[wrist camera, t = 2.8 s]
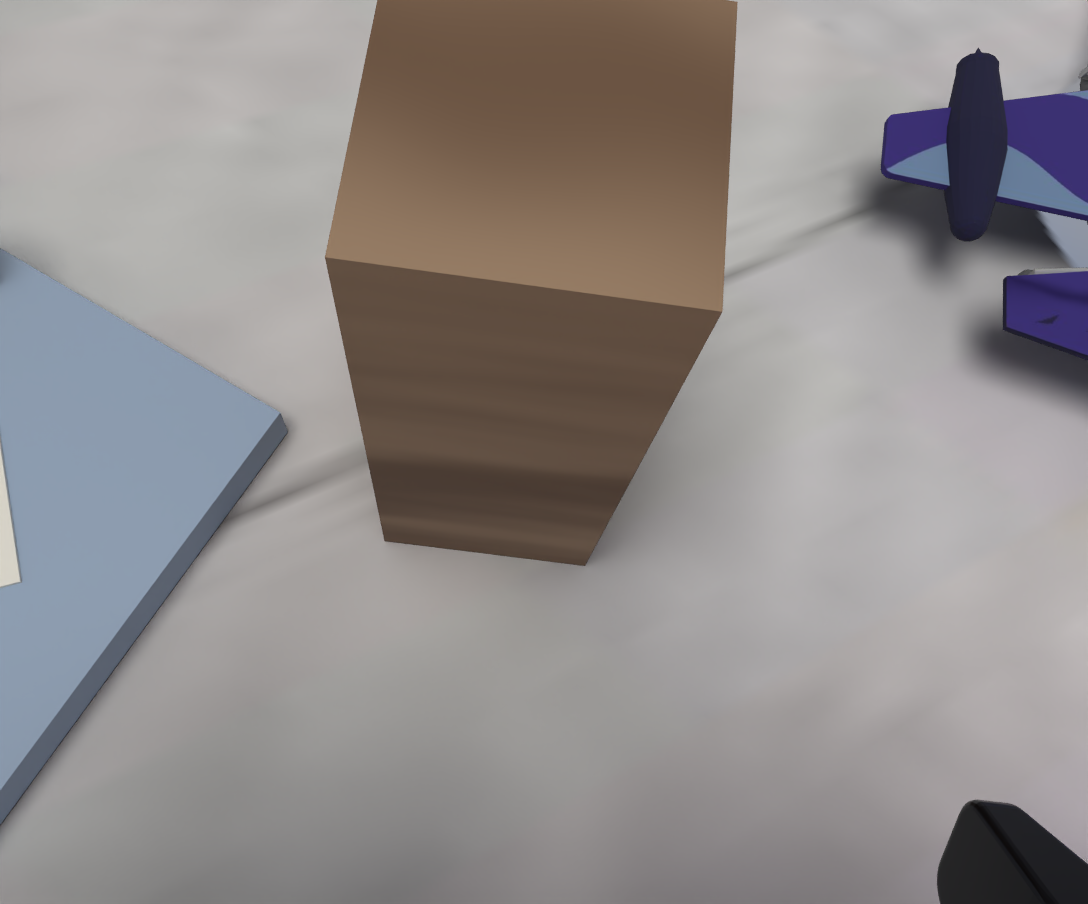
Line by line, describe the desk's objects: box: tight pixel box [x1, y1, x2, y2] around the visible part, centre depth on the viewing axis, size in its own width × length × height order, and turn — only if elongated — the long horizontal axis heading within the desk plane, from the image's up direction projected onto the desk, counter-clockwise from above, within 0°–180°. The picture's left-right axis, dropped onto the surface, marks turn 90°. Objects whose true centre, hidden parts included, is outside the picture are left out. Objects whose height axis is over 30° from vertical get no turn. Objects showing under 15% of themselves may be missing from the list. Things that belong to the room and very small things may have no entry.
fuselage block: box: [325, 0, 737, 566], centre depth 18 cm, size 5×5×12 cm
